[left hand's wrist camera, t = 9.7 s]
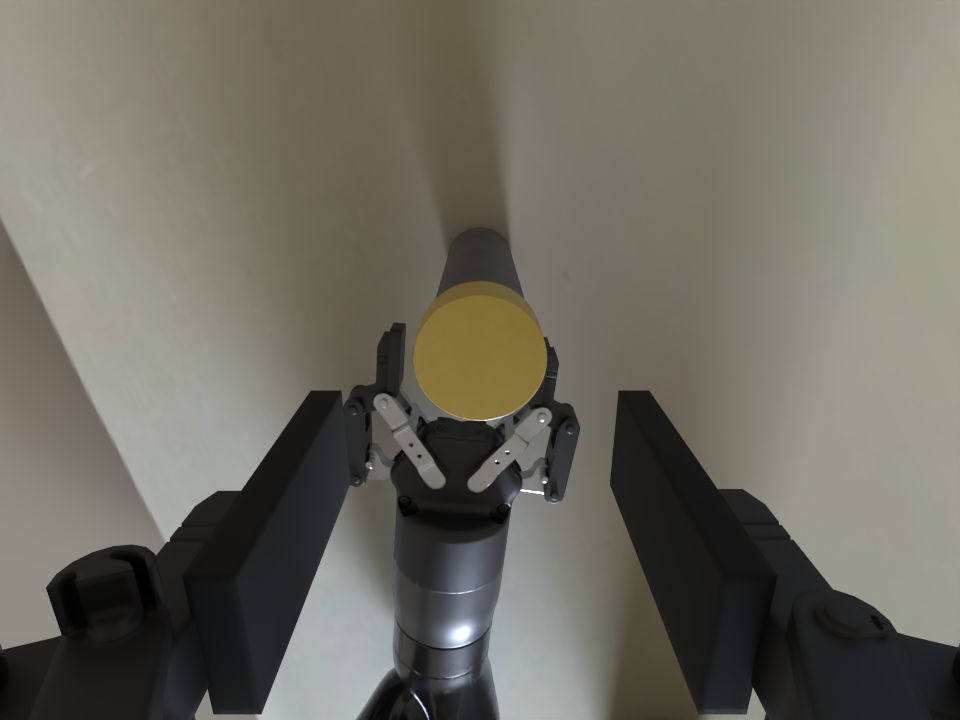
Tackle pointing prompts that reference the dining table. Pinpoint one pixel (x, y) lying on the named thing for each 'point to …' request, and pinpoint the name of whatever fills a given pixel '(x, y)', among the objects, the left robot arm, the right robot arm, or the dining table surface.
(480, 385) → the lid
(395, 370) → the right robot arm
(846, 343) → the dining table surface
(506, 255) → the dark gray cylinder
